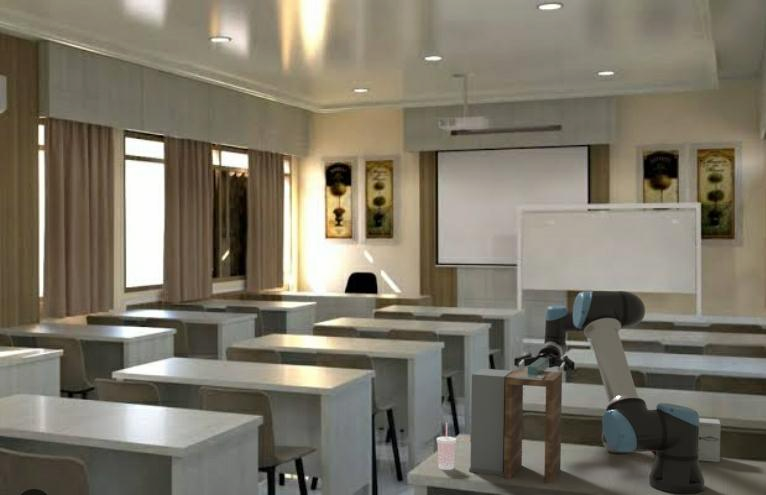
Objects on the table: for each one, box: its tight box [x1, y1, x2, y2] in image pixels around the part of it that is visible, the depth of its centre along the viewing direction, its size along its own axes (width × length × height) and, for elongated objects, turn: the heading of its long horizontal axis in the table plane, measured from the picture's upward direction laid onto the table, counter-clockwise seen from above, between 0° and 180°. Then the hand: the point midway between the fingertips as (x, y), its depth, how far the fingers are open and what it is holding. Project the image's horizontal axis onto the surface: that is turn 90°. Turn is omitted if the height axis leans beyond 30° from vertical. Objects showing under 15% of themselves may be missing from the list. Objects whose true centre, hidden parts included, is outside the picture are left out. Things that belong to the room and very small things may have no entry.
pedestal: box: [468, 368, 514, 476], centre depth 268 cm, size 11×13×30 cm
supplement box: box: [698, 417, 722, 463], centre depth 282 cm, size 7×7×13 cm
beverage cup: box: [436, 422, 457, 471], centre depth 268 cm, size 6×6×14 cm
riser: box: [503, 368, 563, 484], centre depth 262 cm, size 14×16×30 cm
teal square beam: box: [515, 358, 549, 380], centre depth 265 cm, size 8×26×3 cm, turn 159°
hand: (540, 369), depth 286 cm, fingers open, 13 cm apart
